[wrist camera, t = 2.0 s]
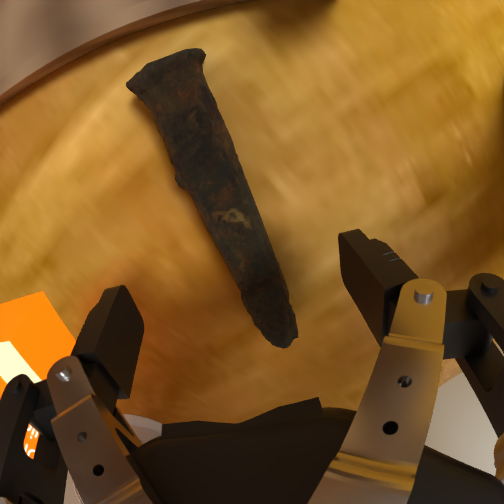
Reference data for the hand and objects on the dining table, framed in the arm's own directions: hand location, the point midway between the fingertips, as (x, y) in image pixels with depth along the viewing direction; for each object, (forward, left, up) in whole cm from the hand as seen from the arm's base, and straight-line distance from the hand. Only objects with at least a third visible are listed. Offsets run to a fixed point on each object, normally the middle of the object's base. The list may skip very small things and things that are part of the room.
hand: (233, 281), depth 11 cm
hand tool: (-1, 0, -9) cm, 9 cm away
